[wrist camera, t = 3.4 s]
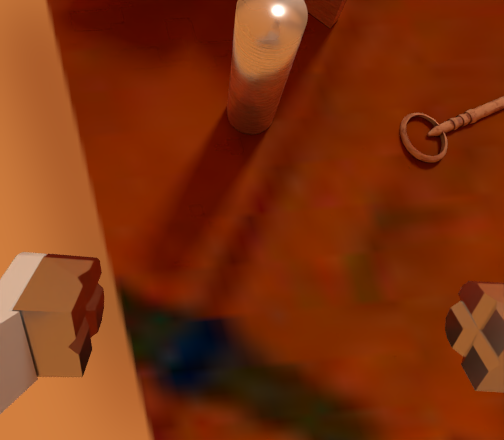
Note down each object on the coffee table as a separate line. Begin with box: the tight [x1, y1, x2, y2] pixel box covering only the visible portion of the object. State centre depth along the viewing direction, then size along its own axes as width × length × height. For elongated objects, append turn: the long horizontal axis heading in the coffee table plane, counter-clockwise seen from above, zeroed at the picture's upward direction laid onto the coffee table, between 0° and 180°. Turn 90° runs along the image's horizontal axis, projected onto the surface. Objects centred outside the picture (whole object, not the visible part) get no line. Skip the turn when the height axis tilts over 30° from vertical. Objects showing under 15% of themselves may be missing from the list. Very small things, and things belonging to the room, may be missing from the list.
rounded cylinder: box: [227, 0, 308, 135], centre depth 23 cm, size 3×3×10 cm
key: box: [400, 96, 504, 163], centre depth 30 cm, size 6×1×15 cm
